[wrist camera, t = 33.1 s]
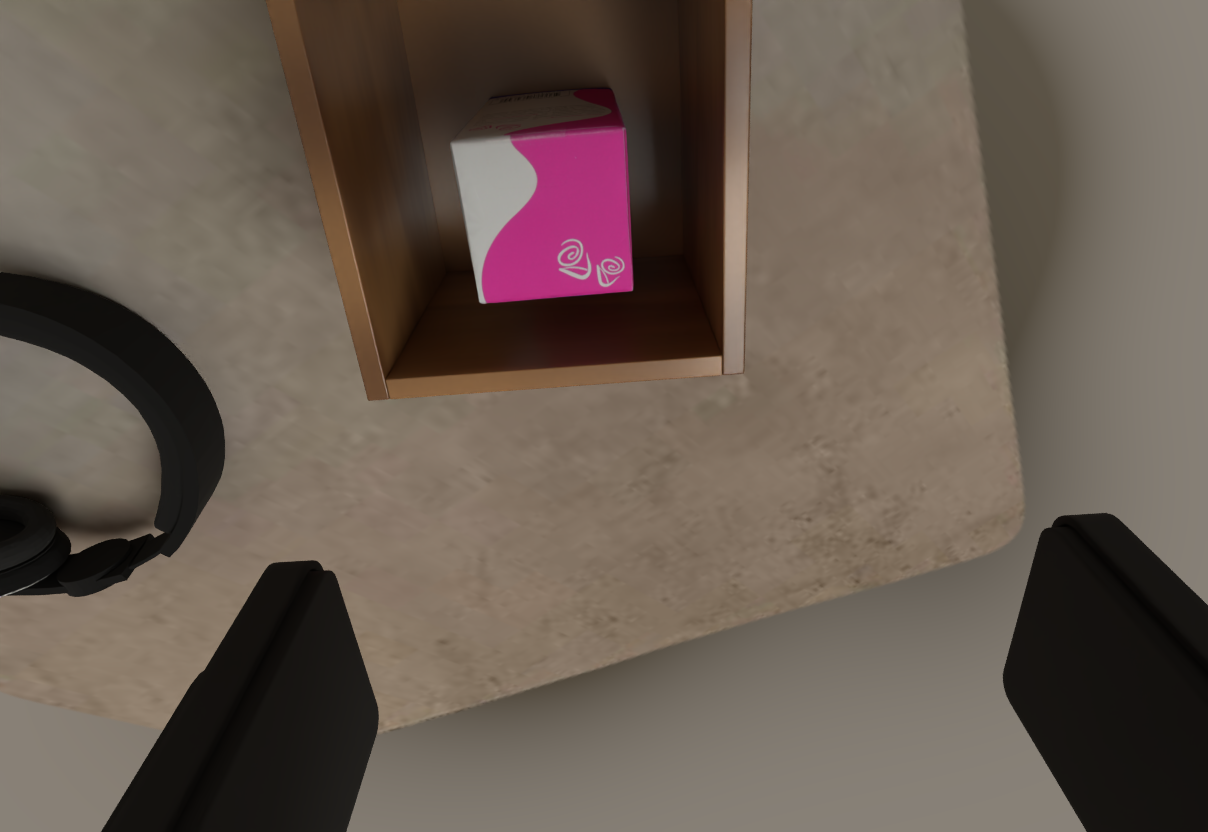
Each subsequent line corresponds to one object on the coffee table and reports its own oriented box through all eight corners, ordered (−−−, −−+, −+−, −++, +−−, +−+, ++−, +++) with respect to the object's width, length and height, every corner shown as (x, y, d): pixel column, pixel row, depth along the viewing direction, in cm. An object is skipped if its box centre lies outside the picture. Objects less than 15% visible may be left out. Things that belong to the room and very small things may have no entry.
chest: (697, 263, 38) (744, 374, 26) (436, 283, 38) (367, 401, 26) (693, -74, 31) (755, -130, 19) (373, -47, 31) (242, -85, 19)
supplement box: (505, 226, 36) (472, 307, 26) (487, 95, 33) (442, 130, 23) (623, 216, 36) (636, 295, 26) (615, 84, 33) (626, 114, 23)
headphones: (-393, 423, 32) (7, 242, 31) (-233, 355, 39) (98, 206, 38) (-72, 683, 40) (254, 549, 39) (13, 589, 47) (291, 473, 46)
